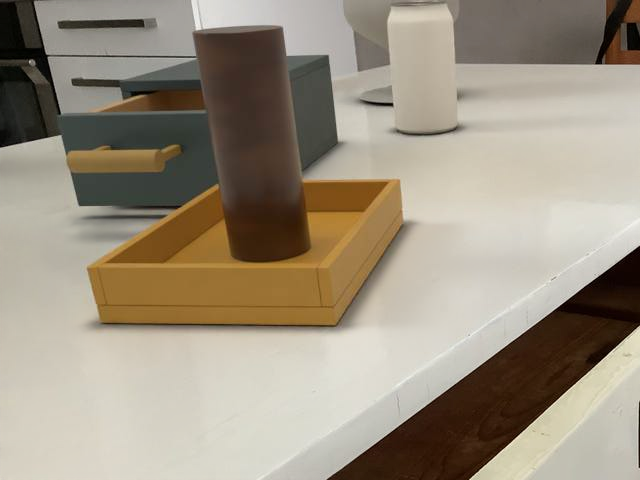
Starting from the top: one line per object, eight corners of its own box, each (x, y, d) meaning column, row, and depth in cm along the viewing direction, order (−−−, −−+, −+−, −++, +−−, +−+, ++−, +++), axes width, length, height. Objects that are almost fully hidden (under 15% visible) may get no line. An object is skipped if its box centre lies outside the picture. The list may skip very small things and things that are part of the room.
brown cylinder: (218, 262, 47) (176, 34, 42) (247, 237, 51) (213, 26, 46) (297, 262, 47) (265, 31, 42) (320, 237, 51) (294, 24, 46)
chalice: (338, 96, 109) (325, -31, 103) (438, 86, 115) (431, -36, 108) (372, 111, 98) (360, -31, 91) (481, 99, 103) (477, -37, 96)
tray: (100, 323, 42) (85, 267, 41) (229, 223, 58) (221, 180, 57) (336, 326, 41) (328, 267, 40) (403, 223, 56) (400, 178, 55)
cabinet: (287, 182, 68) (273, 77, 65) (140, 183, 70) (118, 81, 66) (338, 142, 82) (328, 54, 79) (214, 144, 84) (199, 58, 80)
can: (446, 120, 90) (439, -1, 85) (467, 130, 85) (461, 1, 80) (388, 127, 88) (377, 3, 83) (405, 137, 83) (395, 5, 78)
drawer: (206, 223, 55) (188, 124, 52) (43, 224, 56) (17, 127, 54) (295, 159, 72) (285, 81, 69) (168, 160, 73) (153, 85, 70)
